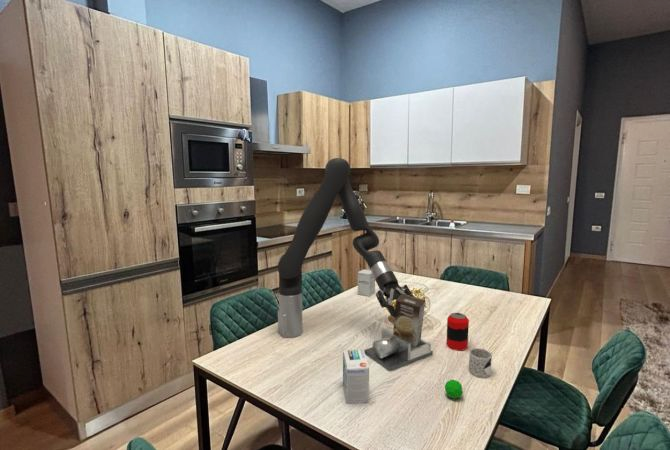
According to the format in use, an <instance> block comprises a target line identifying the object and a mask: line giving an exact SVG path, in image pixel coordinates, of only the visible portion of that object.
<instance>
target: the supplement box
mask: <svg viewBox="0 0 670 450" xmlns="http://www.w3.org/2000/svg"><path fill="white" fill-rule="evenodd" d="M374 294H376V281H375V279H374V277H373V275H372V272H371V270H370V269H365V268H364V269H361V270H360V271H358V272H357V295H360V296H364V297H369V298H370V297H371V296H373V295H374Z"/></svg>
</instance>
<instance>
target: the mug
mask: <svg viewBox="0 0 670 450" xmlns="http://www.w3.org/2000/svg"><path fill="white" fill-rule="evenodd" d="M492 356H493V355H492V352H490V351H488V350H486V349H485V348H478V347H477V348H476V347H475V348H471V349H470V350H469V357H468V358H469V360H468V372H469V373H468V374H470V375H472V376H473V377H476V378H479V379H488V378H490V377H491V376H492V375H491V372H492V359H493V358H492Z"/></svg>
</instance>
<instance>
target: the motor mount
mask: <svg viewBox="0 0 670 450" xmlns="http://www.w3.org/2000/svg"><path fill="white" fill-rule="evenodd" d="M371 346H372V347H369V348H366V349H363V350H364V353H365V356H366V357H369V359H371V360H373V361H374V362H376V363H377V364H378V365H380V366H381V367H382V368H384V369H385V370H387V371H388V372H393V371H395V370H397V369H401V368H403V367H405V366H408V365H411V364H414V363H416V362H419V361H421V360H424V359H426V358H429V357H431V356H433V355H434V354H433V353H434V351H433V350H432V343H430V342H428V341H426V340H425V339H423V338H421V340H420V341H419V343H418V344H417V346H416V347H413V346H411V343H409V342H407V341H406V340H404V339H402V338H400V337H399V336H397V335H395V334H393V332H391V331H389V330H388V329H386V328H381V338H380V339H377V340H374V341H373V342H372V345H371Z"/></svg>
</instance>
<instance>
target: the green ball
mask: <svg viewBox="0 0 670 450" xmlns="http://www.w3.org/2000/svg"><path fill="white" fill-rule="evenodd" d="M444 389H445V391H444V392H445V394H446V395H447V396H448V397H449V398H451V399H454V400H455V399H458V398H461V397H462V395H463V393H464V392H463V386H462V384H461V383H460V381H458V380H455V379H450V380H448V381H447V382H445V384H444Z"/></svg>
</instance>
